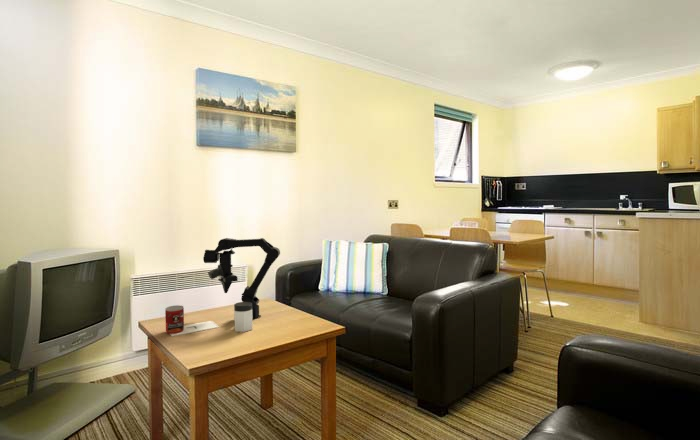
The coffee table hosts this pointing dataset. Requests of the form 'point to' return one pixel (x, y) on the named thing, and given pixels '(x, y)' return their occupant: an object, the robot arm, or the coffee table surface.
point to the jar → (243, 316)
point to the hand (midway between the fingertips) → (225, 292)
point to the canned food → (174, 319)
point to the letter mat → (197, 327)
